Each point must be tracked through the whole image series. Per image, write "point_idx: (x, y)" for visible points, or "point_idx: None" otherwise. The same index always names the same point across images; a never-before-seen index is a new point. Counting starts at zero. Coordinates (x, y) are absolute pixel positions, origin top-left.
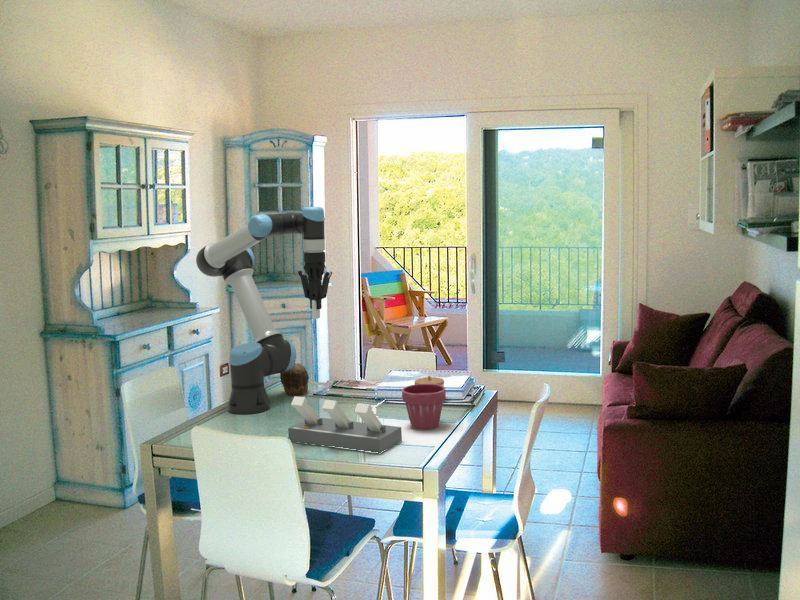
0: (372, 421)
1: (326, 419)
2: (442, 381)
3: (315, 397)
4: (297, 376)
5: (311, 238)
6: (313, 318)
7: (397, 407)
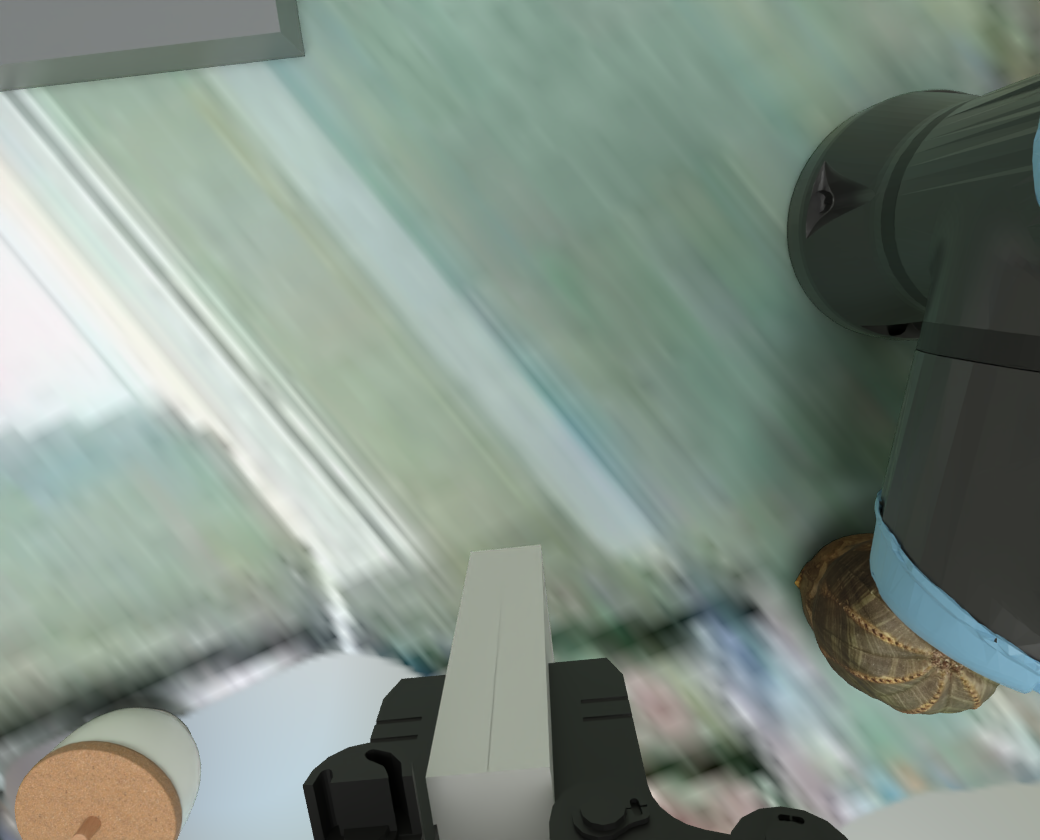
0: None
1: (169, 22)
2: (19, 831)
3: (708, 564)
4: (852, 585)
5: None
6: (517, 549)
7: (213, 591)
